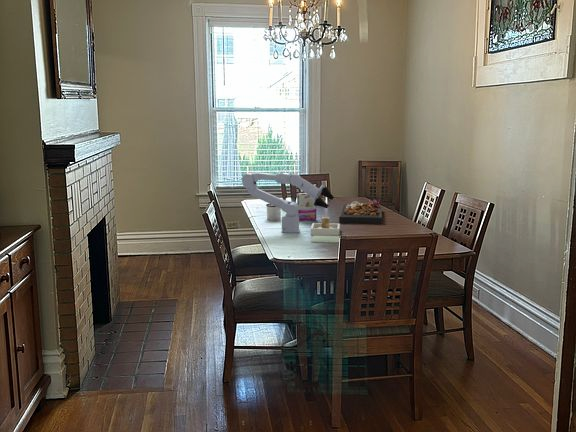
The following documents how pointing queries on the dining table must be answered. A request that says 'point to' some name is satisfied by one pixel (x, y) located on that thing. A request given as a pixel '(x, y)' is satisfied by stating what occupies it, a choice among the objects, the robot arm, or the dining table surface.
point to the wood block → (325, 222)
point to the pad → (325, 239)
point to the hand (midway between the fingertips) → (330, 202)
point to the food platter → (361, 213)
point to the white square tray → (325, 229)
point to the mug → (273, 212)
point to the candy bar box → (306, 207)
